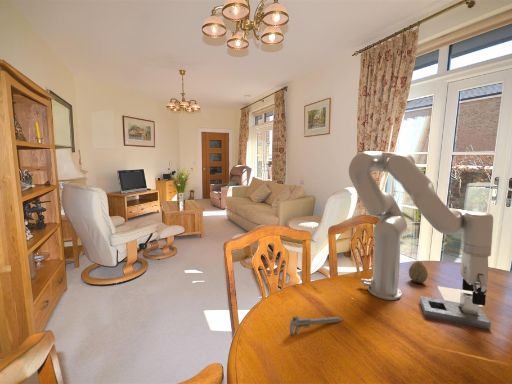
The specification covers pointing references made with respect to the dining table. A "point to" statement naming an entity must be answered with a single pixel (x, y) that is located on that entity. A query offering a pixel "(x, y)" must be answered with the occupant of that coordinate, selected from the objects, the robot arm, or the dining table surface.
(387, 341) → the dining table surface
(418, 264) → the decorative egg
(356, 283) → the dining table surface
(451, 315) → the block with square recesses
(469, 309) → the steel block
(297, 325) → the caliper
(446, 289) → the tile
